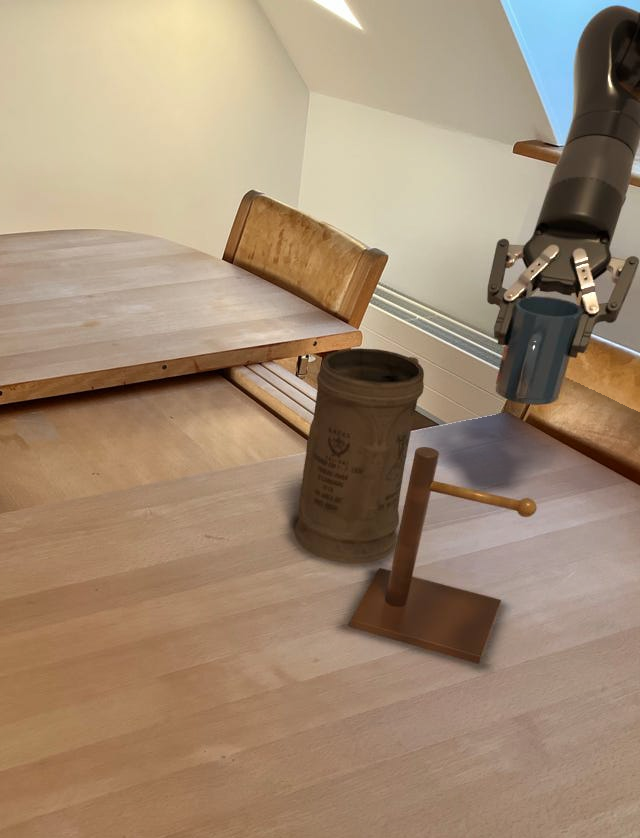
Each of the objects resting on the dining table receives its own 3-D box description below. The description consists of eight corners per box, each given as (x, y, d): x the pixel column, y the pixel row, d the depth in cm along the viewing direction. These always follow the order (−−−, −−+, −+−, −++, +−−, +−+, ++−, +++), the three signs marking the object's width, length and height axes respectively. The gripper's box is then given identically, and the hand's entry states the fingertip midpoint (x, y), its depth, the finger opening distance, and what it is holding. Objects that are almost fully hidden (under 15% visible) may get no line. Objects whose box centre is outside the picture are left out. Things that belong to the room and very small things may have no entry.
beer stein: (372, 582, 97) (413, 388, 86) (274, 552, 101) (302, 363, 90) (417, 526, 108) (459, 348, 97) (328, 500, 112) (358, 327, 101)
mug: (501, 376, 105) (521, 292, 100) (562, 387, 103) (586, 302, 97) (483, 409, 98) (503, 321, 92) (548, 422, 96) (573, 332, 90)
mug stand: (506, 614, 93) (554, 453, 83) (486, 672, 86) (536, 504, 76) (376, 580, 98) (407, 422, 87) (347, 632, 90) (377, 467, 80)
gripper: (513, 166, 98) (465, 317, 96) (667, 182, 93) (618, 342, 91) (510, 211, 105) (465, 352, 103) (653, 228, 100) (607, 377, 98)
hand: (537, 347), depth 97 cm, fingers closed on mug, 6 cm apart
